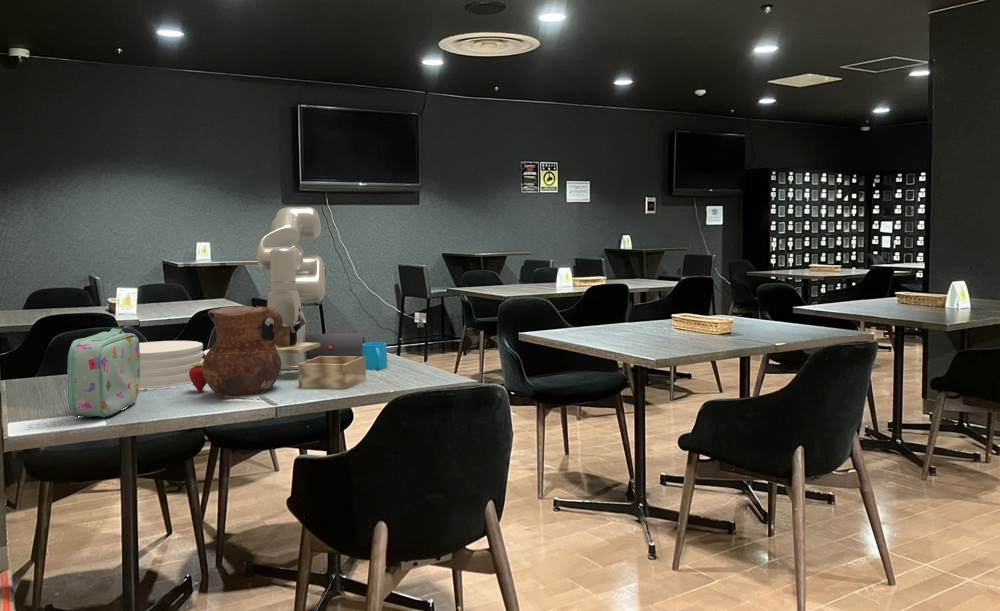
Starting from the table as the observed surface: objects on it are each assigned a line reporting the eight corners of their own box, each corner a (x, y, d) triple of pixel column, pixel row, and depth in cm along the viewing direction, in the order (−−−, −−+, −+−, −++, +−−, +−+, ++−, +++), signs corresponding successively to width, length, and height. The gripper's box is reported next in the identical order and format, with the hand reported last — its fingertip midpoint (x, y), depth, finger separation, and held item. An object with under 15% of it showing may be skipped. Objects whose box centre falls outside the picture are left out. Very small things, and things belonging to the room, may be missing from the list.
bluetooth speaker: (298, 364, 293) (297, 336, 292) (302, 360, 302) (301, 332, 302) (363, 362, 295) (362, 334, 294) (365, 358, 304) (364, 331, 303)
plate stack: (191, 372, 282) (190, 338, 281) (215, 383, 259) (213, 347, 258) (101, 381, 266) (99, 346, 265) (117, 395, 243) (115, 356, 242)
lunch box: (107, 401, 233) (102, 325, 231) (145, 400, 234) (141, 324, 232) (64, 423, 206) (59, 337, 205) (107, 422, 207) (102, 336, 205)
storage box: (298, 391, 243) (297, 363, 242) (320, 381, 257) (319, 356, 257) (347, 392, 240) (346, 364, 239) (366, 382, 254) (365, 356, 253)
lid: (250, 353, 258) (249, 330, 258) (275, 346, 274) (274, 324, 273) (298, 353, 255) (297, 330, 254) (320, 346, 271) (319, 324, 270)
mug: (361, 367, 285) (360, 343, 284) (384, 365, 287) (384, 341, 287) (367, 372, 273) (366, 347, 273) (391, 370, 276) (390, 346, 275)
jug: (214, 404, 225) (209, 313, 223) (195, 393, 243) (190, 307, 241) (293, 394, 238) (289, 307, 235) (270, 384, 255) (266, 302, 253)
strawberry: (209, 388, 250) (207, 355, 249) (213, 392, 243) (211, 358, 242) (188, 390, 247) (186, 357, 246) (191, 394, 241) (189, 360, 240)
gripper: (253, 288, 261) (256, 346, 262) (303, 287, 257) (305, 346, 259) (265, 286, 268) (267, 343, 270) (313, 286, 265) (315, 343, 266)
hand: (286, 344), depth 264 cm, fingers closed on lid, 4 cm apart
